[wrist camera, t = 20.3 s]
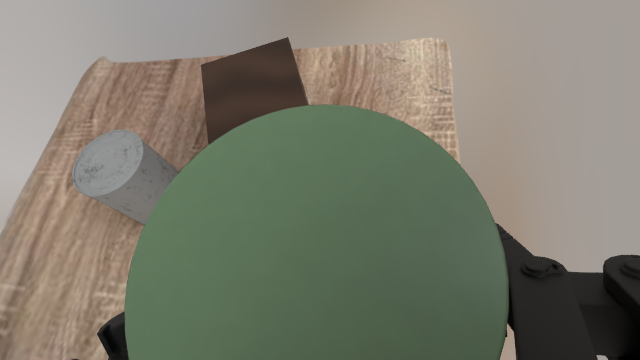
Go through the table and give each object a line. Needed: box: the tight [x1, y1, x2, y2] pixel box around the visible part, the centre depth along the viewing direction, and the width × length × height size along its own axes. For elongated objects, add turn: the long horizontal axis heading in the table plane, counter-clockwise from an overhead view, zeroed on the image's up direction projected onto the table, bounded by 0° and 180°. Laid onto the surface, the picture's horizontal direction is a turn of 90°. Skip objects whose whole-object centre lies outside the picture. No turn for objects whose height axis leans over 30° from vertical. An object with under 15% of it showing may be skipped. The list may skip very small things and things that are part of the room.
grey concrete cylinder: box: [72, 129, 179, 226], centre depth 48 cm, size 10×10×12 cm
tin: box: [125, 105, 509, 360], centre depth 12 cm, size 8×8×12 cm
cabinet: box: [201, 37, 309, 145], centre depth 51 cm, size 16×14×10 cm
